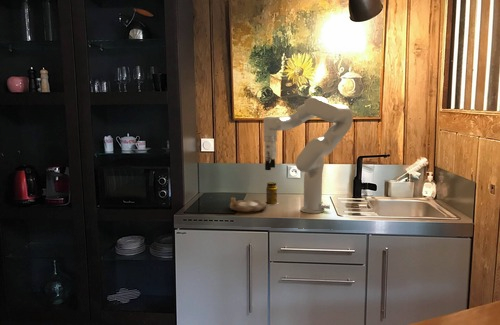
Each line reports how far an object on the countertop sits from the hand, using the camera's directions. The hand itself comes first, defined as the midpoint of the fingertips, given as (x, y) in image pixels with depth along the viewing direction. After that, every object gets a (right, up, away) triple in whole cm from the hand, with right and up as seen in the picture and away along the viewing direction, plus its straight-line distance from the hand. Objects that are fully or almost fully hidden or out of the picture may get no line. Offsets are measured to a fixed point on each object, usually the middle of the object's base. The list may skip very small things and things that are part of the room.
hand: (270, 168), depth 239 cm
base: (-13, -22, -11) cm, 28 cm away
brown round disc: (-13, -21, -11) cm, 26 cm away
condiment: (0, -20, +3) cm, 20 cm away
